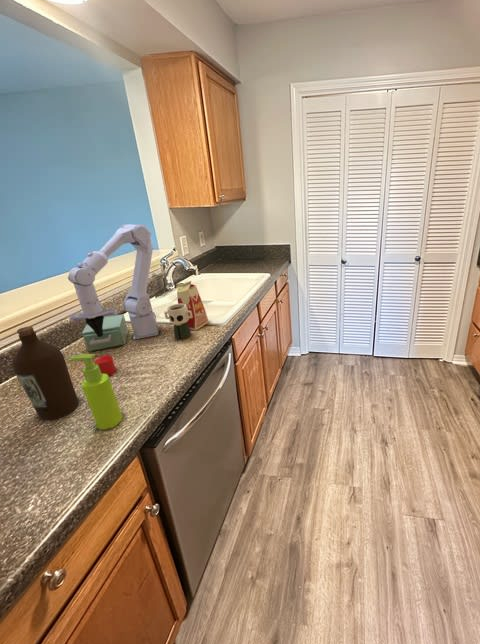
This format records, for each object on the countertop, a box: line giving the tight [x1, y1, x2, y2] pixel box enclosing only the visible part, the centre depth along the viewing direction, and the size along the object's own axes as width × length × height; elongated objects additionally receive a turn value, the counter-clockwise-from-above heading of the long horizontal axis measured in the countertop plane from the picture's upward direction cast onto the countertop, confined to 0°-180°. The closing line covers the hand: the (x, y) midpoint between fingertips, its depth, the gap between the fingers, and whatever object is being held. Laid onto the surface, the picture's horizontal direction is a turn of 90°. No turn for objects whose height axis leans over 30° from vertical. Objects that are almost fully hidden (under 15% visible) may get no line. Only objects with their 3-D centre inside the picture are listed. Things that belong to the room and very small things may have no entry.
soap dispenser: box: [67, 353, 123, 430], centre depth 81 cm, size 6×7×20 cm
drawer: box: [83, 329, 123, 352], centre depth 125 cm, size 17×11×6 cm, turn 21°
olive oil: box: [12, 326, 79, 421], centre depth 86 cm, size 11×11×25 cm
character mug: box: [163, 303, 193, 340], centre depth 128 cm, size 11×7×13 cm, turn 89°
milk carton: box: [175, 280, 210, 331], centre depth 136 cm, size 9×9×20 cm
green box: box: [81, 314, 129, 352], centre depth 129 cm, size 14×13×8 cm
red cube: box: [93, 354, 117, 377], centre depth 107 cm, size 5×5×5 cm
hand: (100, 335), depth 119 cm, fingers closed
